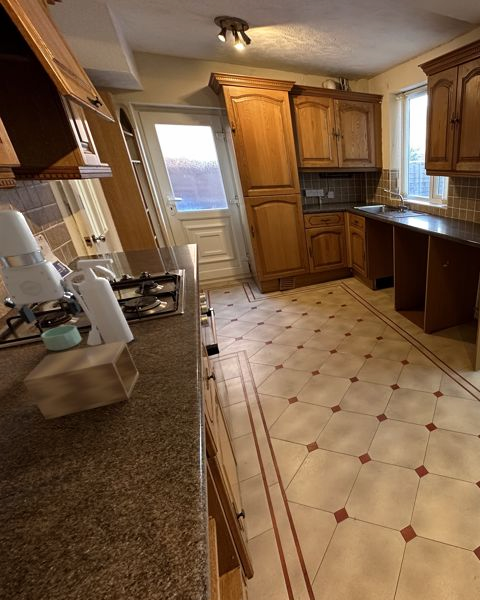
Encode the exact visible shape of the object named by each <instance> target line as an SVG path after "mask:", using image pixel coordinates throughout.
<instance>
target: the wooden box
mask: <svg viewBox="0 0 480 600" xmlns="http://www.w3.org/2000/svg"><path fill="white" fill-rule="evenodd" d="M139 376H140V373H139V370H138V368H137V366H136V363H135V361H134V358H133V356H132V354H131V351H130V349H129V347H128V343H126V342H125V341H120V342H115V343H109V344H105V343H104V344H98V345H94V346H93V345H92V346H89V347H84V348H77V349H73V350H67V351H62V352H57V353H51V354H46V355H45V356H44V357H43V358H42V360H41V361H40V362H39V363H38V364H37V365H36V366H35V367H34V368H33V370H31V371H30V372H29V374H27V376H26V377H25V378H24V379H23V380H22V383H23V385H24V386H25V387H26V389H27V391H28V392H29V394H30V396H31V398H32V399H33V400H34V402H35V404H36V406H37V407H38V409H39V410H40V412H41V414H42V416H43V418H44V419H45V420H52V419H54V418H55V419H56V418H59V417H63V416H68V415H72V414H76V413H79V412H83V411H88V410H92V409H95V408H100V407H105V406H107V405H112V404H116V403H120V402H124V401H128V400H130V399H131V398H130V397H131V396H132V394H133V391H134V388H135V385H136V384H137V381H138V379H139Z"/></svg>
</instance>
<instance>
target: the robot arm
mask: <svg viewBox="0 0 480 600" xmlns="http://www.w3.org/2000/svg"><path fill="white" fill-rule="evenodd" d="M0 265H1V266H2V267H1V268H0V275H1V278H2V282H3V284H4V287H5V289H6V291H4V292H2V293H1V294H0V304H3V305H4V307H5V308H9V309H12V310H13V311H15V312H18V314H19V315H20V317H21V319H22V321H24V322H25V324H27V325H30V324H32V323H33V322H35V321H36V320H37V317H36V316H35V314H34V312H33V311H32V309H31V307H30V306H27V305H31V304H36V303H44V302H52V301H56V300H60V299H61V300H63V301H65V302H67V303H66V306H67V308H68V310H69V311H70V313H71V315H72V316H73V317H77V316H78V315H79V314H80V313H81V310H82V307H81V305H80V303H79V302H78V300H77V298H76V297H75V296H74V295H73V294H72V292H70V291H69V289H68V286H67V282H66V280H64V278H63V277H62V275H61V274H60V272H59V271H58V270H57V269H56V267H55V266H54V265H53V263H52V262H51V261H50V260H46V258H45V256H44V254H43V252H42V250H41V248H40V246H39V244H38V242H37V241H36V238H35V236H34V235H33V233H32V231H31V229H30V226H29V224H28V223H27V221H26V219H25V217H24V215H23V214H22V212H20V211H18V210H17V209H16V210H15V209H0ZM71 283H72V286H73V288H74V290H75V291H76V292H77V293H78V294H79V295H80V296H81V293H80V291H79V283H77V282H74V281H73V282H72V281H71Z"/></svg>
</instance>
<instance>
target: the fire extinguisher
mask: <svg viewBox="0 0 480 600" xmlns="http://www.w3.org/2000/svg"><path fill="white" fill-rule="evenodd" d="M113 263H114V261H113V258H96V259H80V260H79V259H78V260H77V261H76V268H77V270H79V269H81V270H80V271H74V272H72V273H70V274H69V275H68V276H67V277H65V281H66V282H67V286H68V287H67V288H68V291H69V292H70V293H71V294H73V295H74V296H75V297H76V298H77V299H76V300H77V302H78V304H79V306H80V308H81V309H82V310H83V312H84V313H85V316H86V317H87V319H88V320H89V322H90V323H91V330H89V331H88V336H87V342H86V345H90V346H92V347H93V346H99V345H103V344H102V340H103V341H104V344H109V343H115V342H120V341H125V342H126V344H128V343H130V342H131V341H132V340H134V336H133V333H132V331H131V328H130V326H129V324H128V321H127V320H126V317H125V315H124V313H123V311H122V308H121V306H120V304H119V302H118V299H117V297H116V295H115V292H114V291H113V288H112V286H111V284H110V281H111V282H112V281H114V280H115V279H116V278H117V276H116V275H115V273H114V272H113V271H112V270H110V269H108V268H106V267H105V266H104V265H111V264H112V265H113ZM94 270H95V271H97V272H99V273H101V274H103V275H105V276H106V277H107V278H108V279H109V280H110V281H109V280H108V279H106V278H105V277H100V276H99V277H98V276H97V275H96V273H95V272H94ZM82 275H83V280H82V281H81V282H79V283H78V284H79V291H80V293H81V294H80V295H79V294H78V293H77V292H76V291H75V290H74V288H73V286H72V283H71V282H72V279H74V278H75V277H77V276H82ZM101 337H102V339H101Z"/></svg>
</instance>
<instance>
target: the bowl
mask: <svg viewBox="0 0 480 600" xmlns="http://www.w3.org/2000/svg"><path fill="white" fill-rule="evenodd" d="M40 337H41V339H42V341H43V343H44V345H45V347H46V349H47V350H49V351H53V352H54V351H63V350H67V349H70V348H73V347H76V346H77V345H78V344H80V342H81V341H82V339H83V338H82V336H81V334H80V332H79V330H78V327H77V326H76V325H75V324H66V325H60V326H58V327H53V328H50V329H48V330H46V331H44V332H42V333H41V334H40Z"/></svg>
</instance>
